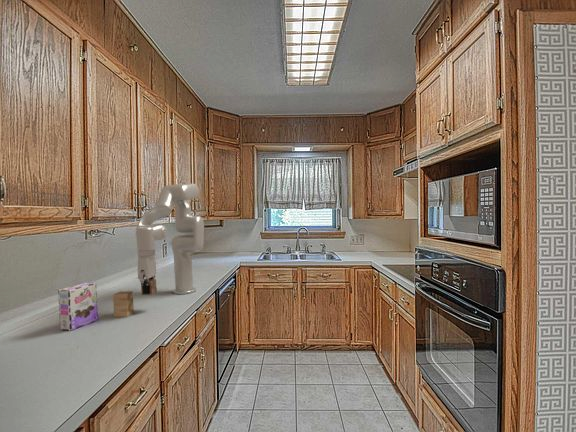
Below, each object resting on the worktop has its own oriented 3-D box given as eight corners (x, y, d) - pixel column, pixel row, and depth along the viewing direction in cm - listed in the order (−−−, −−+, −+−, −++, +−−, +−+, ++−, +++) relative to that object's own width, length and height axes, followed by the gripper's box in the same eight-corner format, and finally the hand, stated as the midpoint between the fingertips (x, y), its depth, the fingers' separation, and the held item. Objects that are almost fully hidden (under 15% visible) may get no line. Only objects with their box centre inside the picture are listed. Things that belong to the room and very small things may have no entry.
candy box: (70, 331, 146) (68, 290, 146) (59, 330, 148) (57, 289, 147) (98, 320, 159) (96, 282, 159) (88, 319, 161) (86, 282, 161)
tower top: (120, 302, 169) (120, 291, 169) (133, 302, 168) (132, 291, 168) (113, 305, 163) (112, 294, 163) (126, 305, 163) (126, 294, 162)
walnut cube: (146, 291, 174) (145, 279, 174) (156, 291, 174) (155, 279, 174) (141, 295, 169) (140, 282, 169) (152, 294, 169) (151, 281, 169)
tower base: (121, 313, 169) (120, 302, 169) (133, 312, 169) (133, 302, 168) (114, 317, 163) (113, 305, 163) (127, 316, 163) (126, 305, 163)
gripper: (146, 250, 179) (149, 287, 180) (129, 257, 162) (132, 297, 164) (161, 250, 179) (164, 287, 180) (146, 256, 162) (149, 297, 163)
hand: (149, 291), depth 172 cm, fingers closed on walnut cube, 5 cm apart
